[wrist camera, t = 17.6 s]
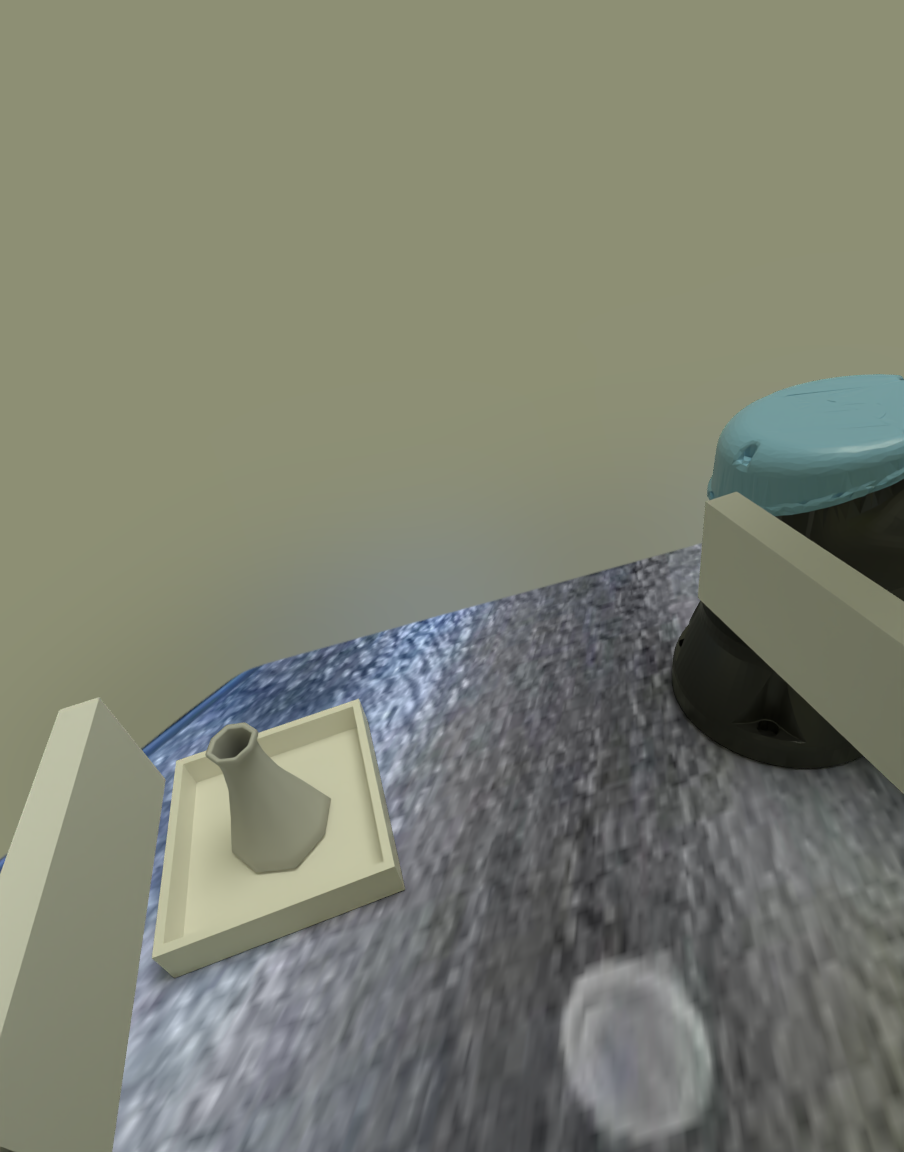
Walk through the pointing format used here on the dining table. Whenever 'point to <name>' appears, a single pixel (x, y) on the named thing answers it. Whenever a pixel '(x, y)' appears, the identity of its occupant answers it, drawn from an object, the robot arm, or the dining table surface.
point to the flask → (266, 803)
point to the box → (282, 897)
